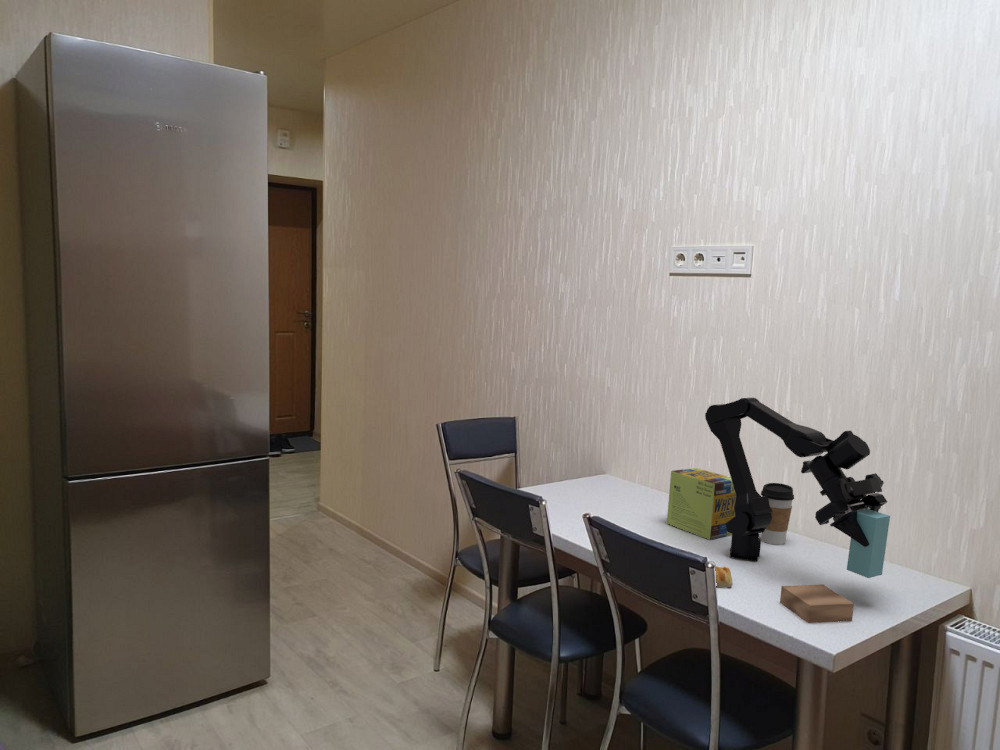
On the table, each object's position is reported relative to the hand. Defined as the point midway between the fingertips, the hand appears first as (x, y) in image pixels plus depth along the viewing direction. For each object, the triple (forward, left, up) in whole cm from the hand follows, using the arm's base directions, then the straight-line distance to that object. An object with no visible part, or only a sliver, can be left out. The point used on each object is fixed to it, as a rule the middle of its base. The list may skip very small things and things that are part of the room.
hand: (874, 544), depth 160 cm
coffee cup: (-17, +37, -14) cm, 43 cm away
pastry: (-32, 0, -14) cm, 35 cm away
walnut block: (-11, -8, -14) cm, 20 cm away
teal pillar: (-1, +1, -7) cm, 7 cm away
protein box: (-36, +39, -14) cm, 55 cm away
